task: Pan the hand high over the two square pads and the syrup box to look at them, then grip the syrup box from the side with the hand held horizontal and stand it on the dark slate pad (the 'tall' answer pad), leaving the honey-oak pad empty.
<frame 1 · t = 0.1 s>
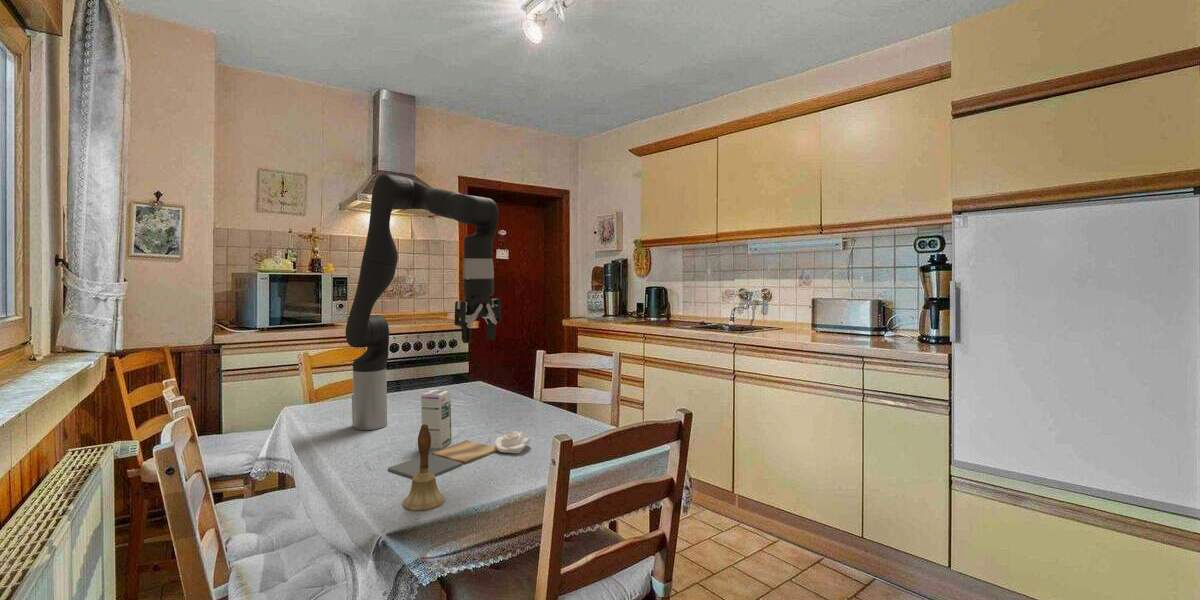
hand: (478, 341, 140), 29 cm above the table, tool pointing down, fingers open, 8 cm apart
honey oak pad: (465, 452, 143), on the table
dark slate pad: (425, 467, 132), on the table
hand bell: (424, 503, 113), on the table
rose: (512, 448, 146), on the table, touching honey oak pad
syrup box: (436, 445, 149), on the table
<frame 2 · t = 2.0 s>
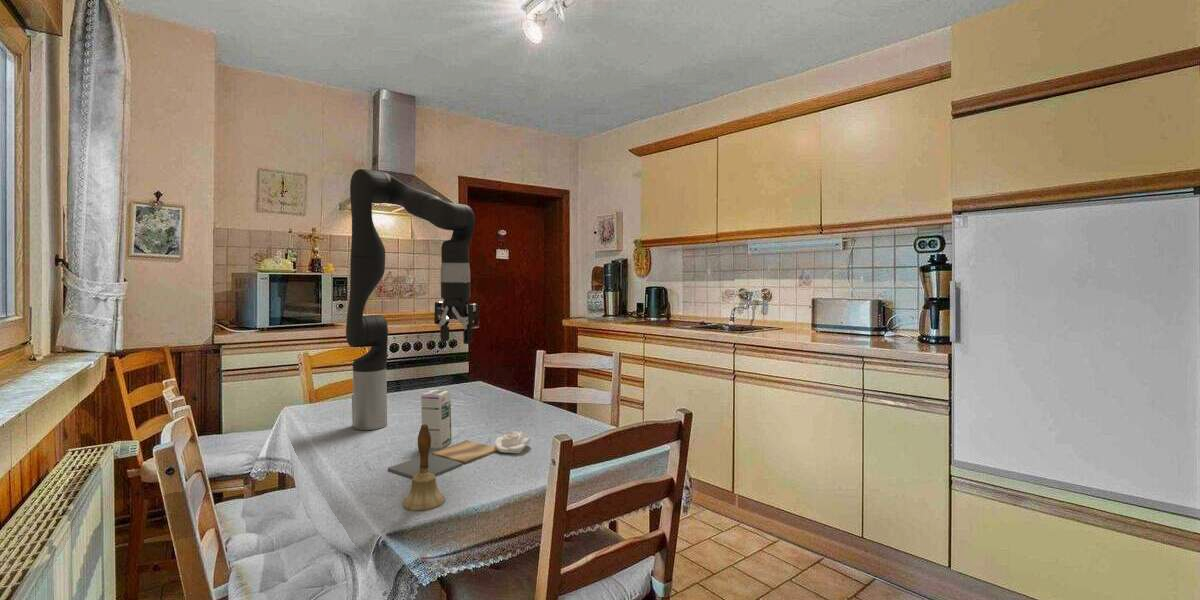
hand: (456, 342, 145), 28 cm above the table, tool pointing down, fingers open, 8 cm apart
nothing on the table moved.
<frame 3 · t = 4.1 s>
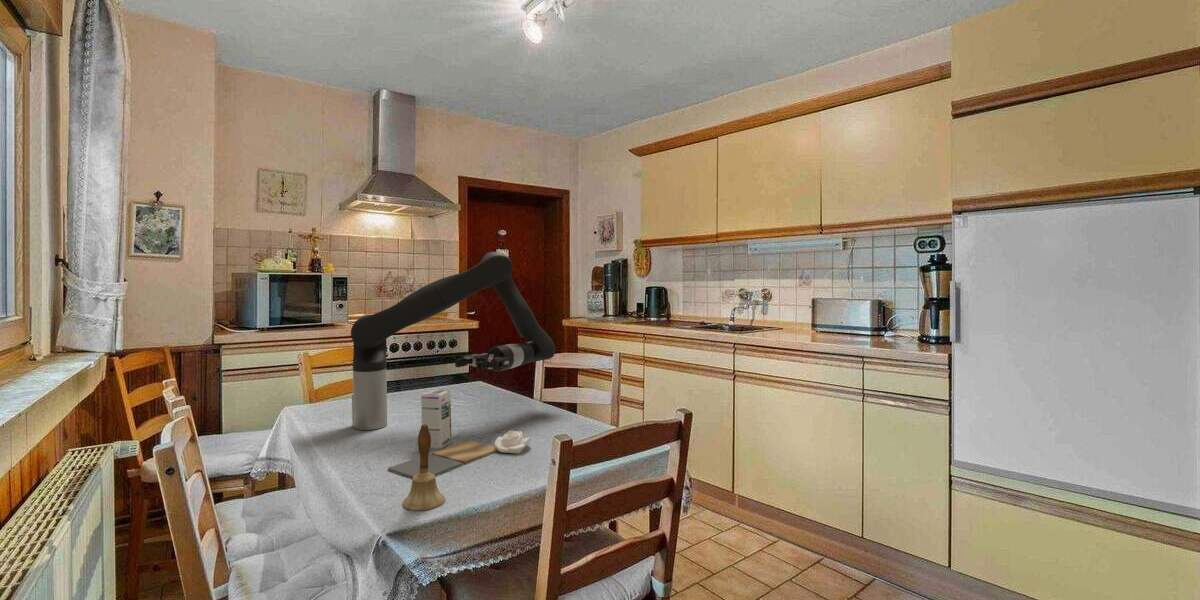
hand: (466, 365, 157), 20 cm above the table, tool horizontal, fingers open, 8 cm apart
nothing on the table moved.
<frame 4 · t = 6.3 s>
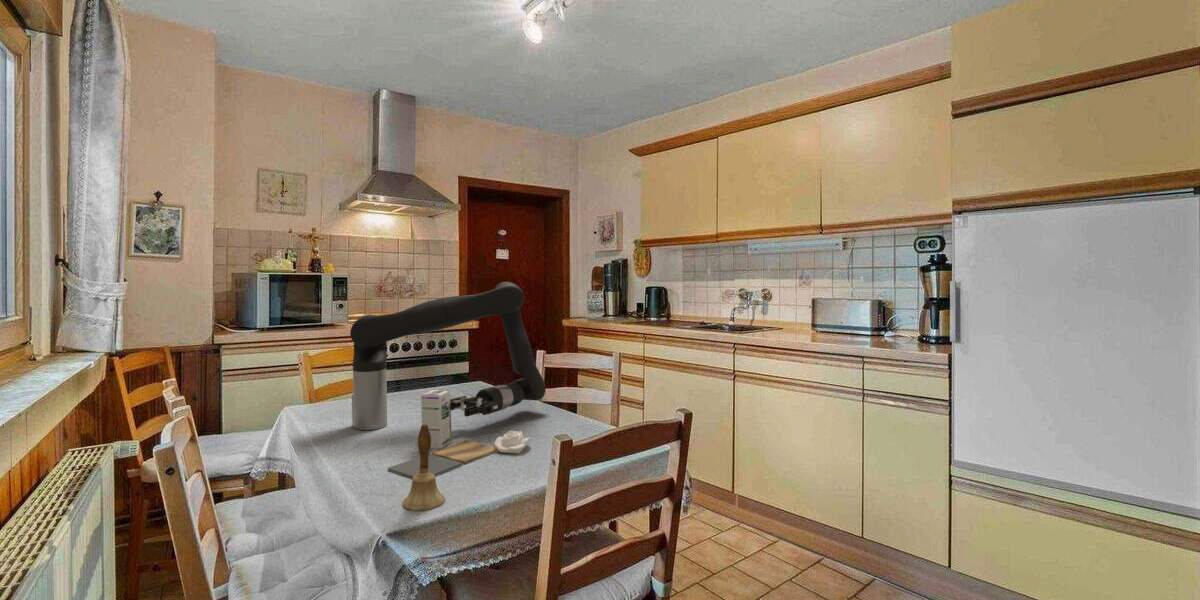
hand: (454, 410, 154), 8 cm above the table, tool horizontal, fingers open, 8 cm apart
nothing on the table moved.
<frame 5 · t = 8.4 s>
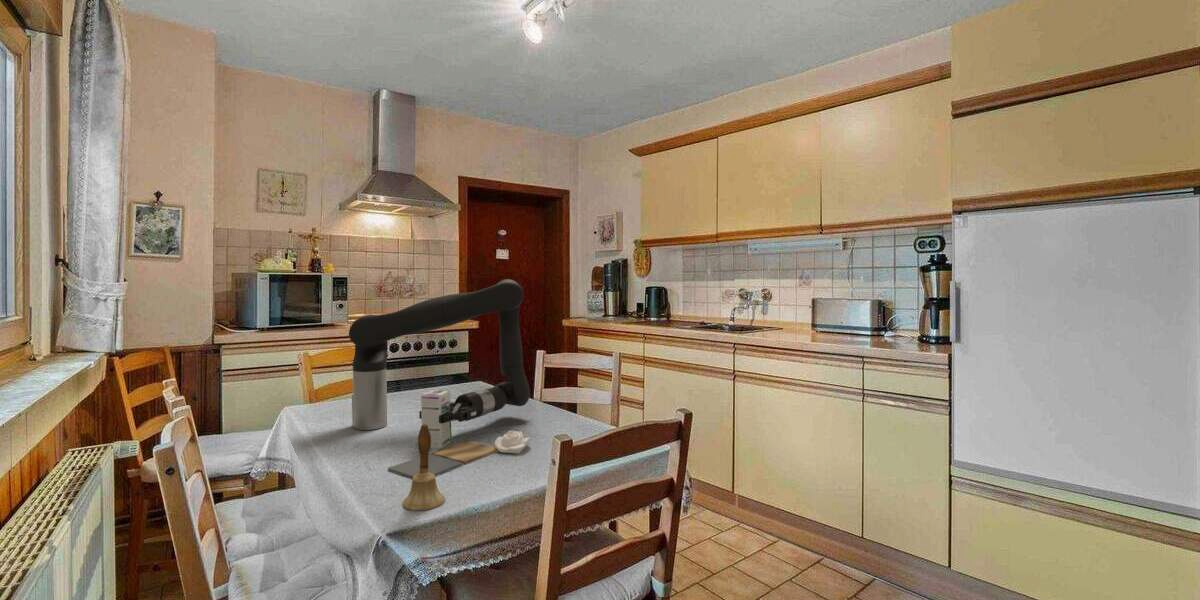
hand: (430, 417, 147), 8 cm above the table, tool horizontal, fingers closed on syrup box, 7 cm apart
syrup box: (436, 445, 149), on the table, touching gripper
everything else where it was.
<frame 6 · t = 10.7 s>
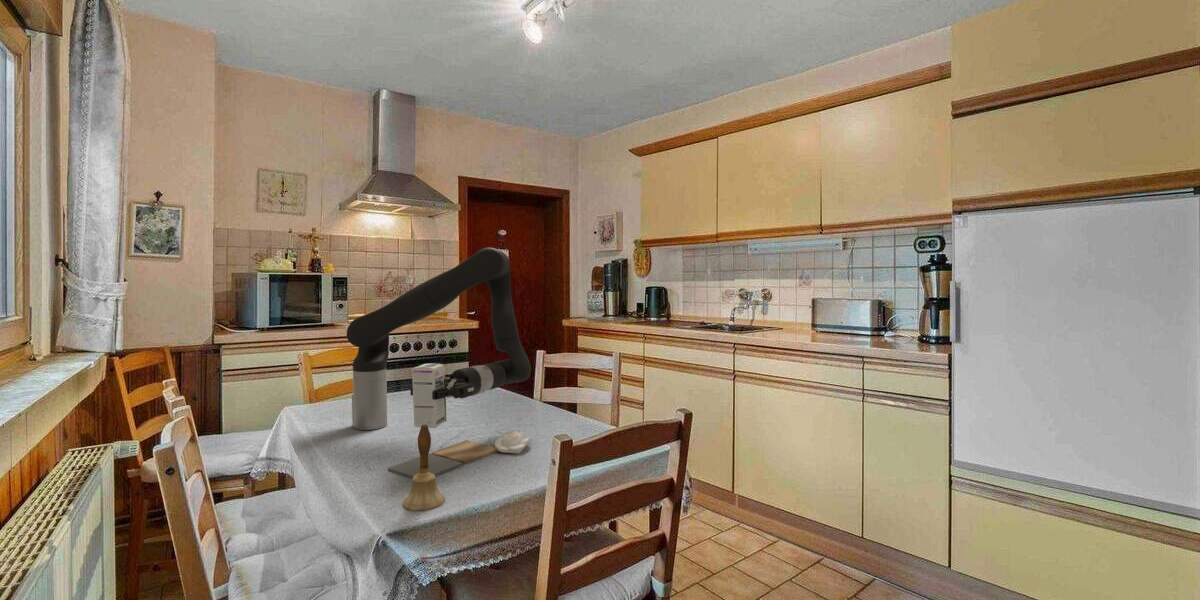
hand: (422, 393, 132), 18 cm above the table, tool horizontal, fingers closed on syrup box, 7 cm apart
syrup box: (430, 425, 135), point 9 cm above the table, touching gripper
everything else where it was.
when the fingers open (9 cm above the table, at t = 13.2 s): syrup box stays where it is, resting on dark slate pad.
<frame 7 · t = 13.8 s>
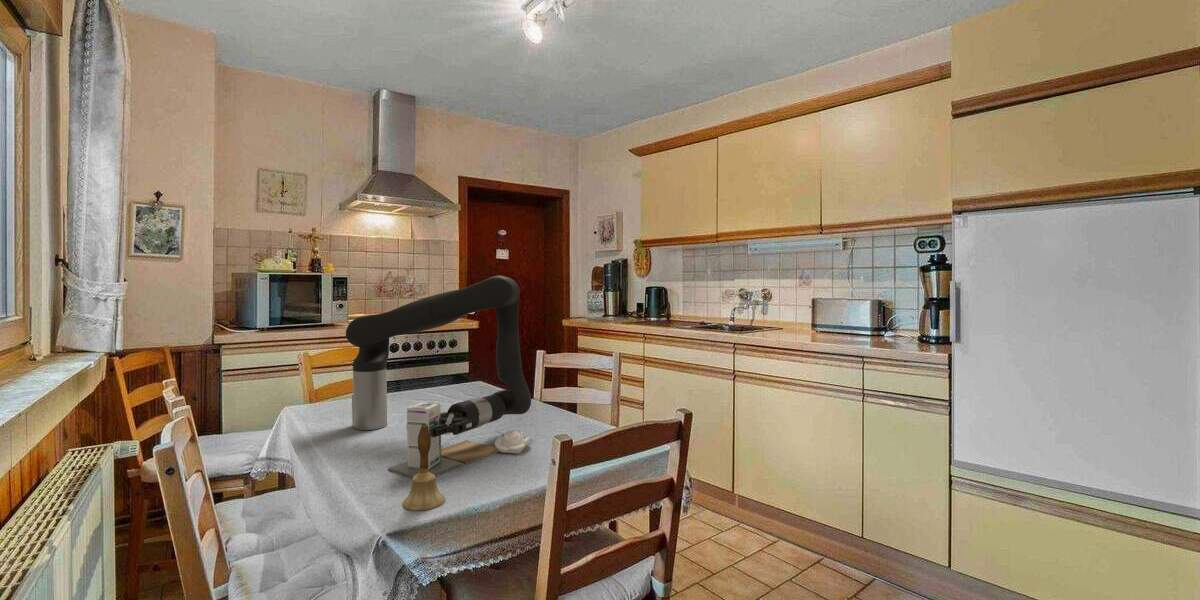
hand: (419, 429, 130), 10 cm above the table, tool horizontal, fingers open, 8 cm apart
syrup box: (424, 465, 133), resting on dark slate pad, touching gripper
everything else where it was.
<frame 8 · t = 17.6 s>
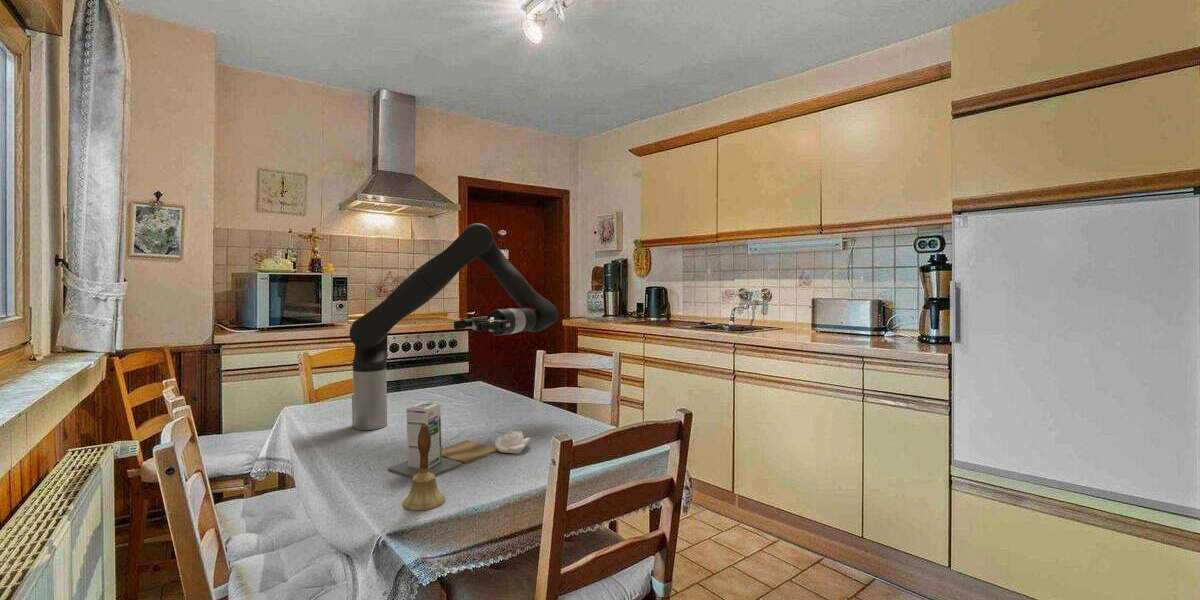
hand: (465, 326, 148), 32 cm above the table, tool horizontal, fingers open, 8 cm apart
syrup box: (424, 465, 133), resting on dark slate pad
everything else where it was.
at the end: syrup box inside the target area on the dark slate pad (0.8 cm from its centre), point 0.4 cm above the dark slate pad's base; syrup box tilted 0°; the gripper is holding nothing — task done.
